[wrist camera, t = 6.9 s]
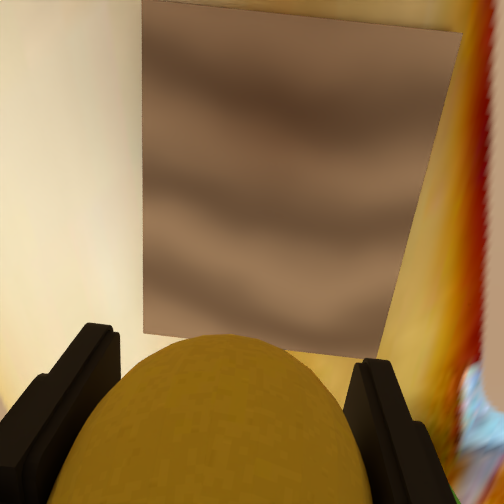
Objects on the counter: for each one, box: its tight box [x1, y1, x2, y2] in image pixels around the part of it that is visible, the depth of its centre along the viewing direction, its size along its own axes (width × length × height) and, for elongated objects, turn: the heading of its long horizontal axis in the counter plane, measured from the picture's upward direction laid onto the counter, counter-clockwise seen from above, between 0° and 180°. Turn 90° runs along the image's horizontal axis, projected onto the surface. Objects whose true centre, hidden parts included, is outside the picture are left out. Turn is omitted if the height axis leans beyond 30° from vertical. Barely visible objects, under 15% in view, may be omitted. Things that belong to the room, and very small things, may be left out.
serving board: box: [142, 0, 463, 359], centre depth 26 cm, size 20×16×2 cm
